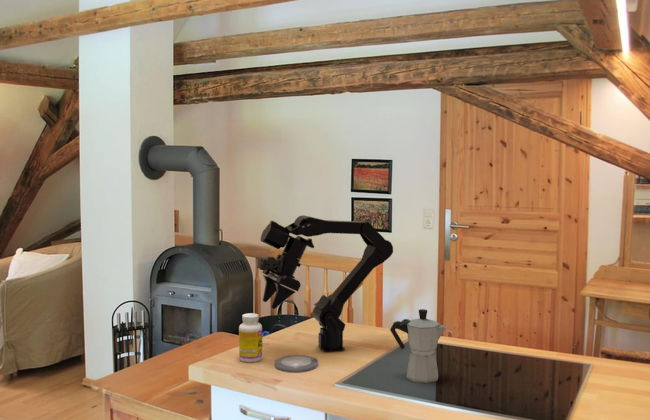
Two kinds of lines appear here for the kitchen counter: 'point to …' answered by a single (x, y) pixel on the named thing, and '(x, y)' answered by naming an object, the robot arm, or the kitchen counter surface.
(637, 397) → the kitchen counter surface
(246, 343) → the supplement bottle
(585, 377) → the kitchen counter surface
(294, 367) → the gray plate
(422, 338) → the coffee maker
